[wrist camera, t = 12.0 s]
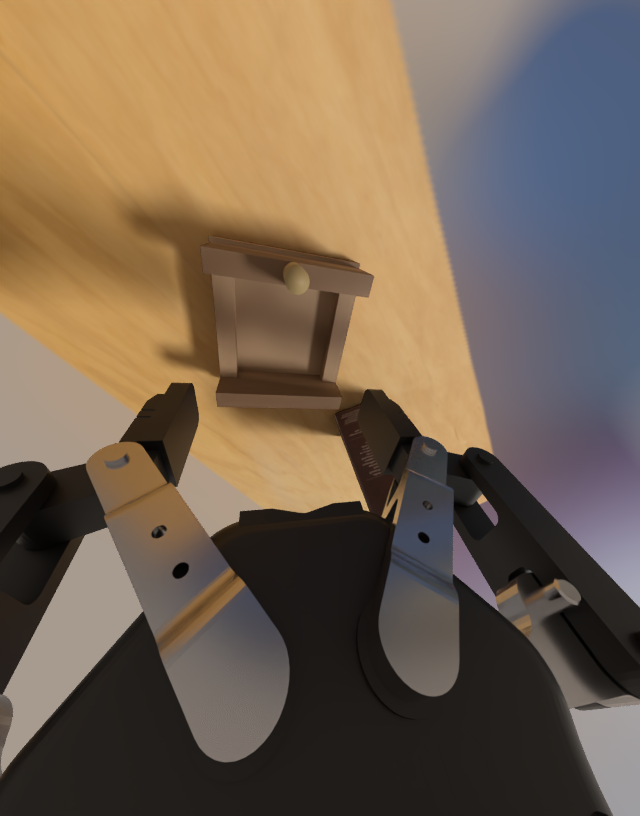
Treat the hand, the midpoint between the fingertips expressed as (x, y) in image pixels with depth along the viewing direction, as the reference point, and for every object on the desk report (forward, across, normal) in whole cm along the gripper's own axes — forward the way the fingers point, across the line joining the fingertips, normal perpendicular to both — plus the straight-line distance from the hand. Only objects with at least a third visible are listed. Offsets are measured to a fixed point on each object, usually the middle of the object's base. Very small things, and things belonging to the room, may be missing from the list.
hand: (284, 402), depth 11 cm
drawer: (+10, 0, 0) cm, 10 cm away
